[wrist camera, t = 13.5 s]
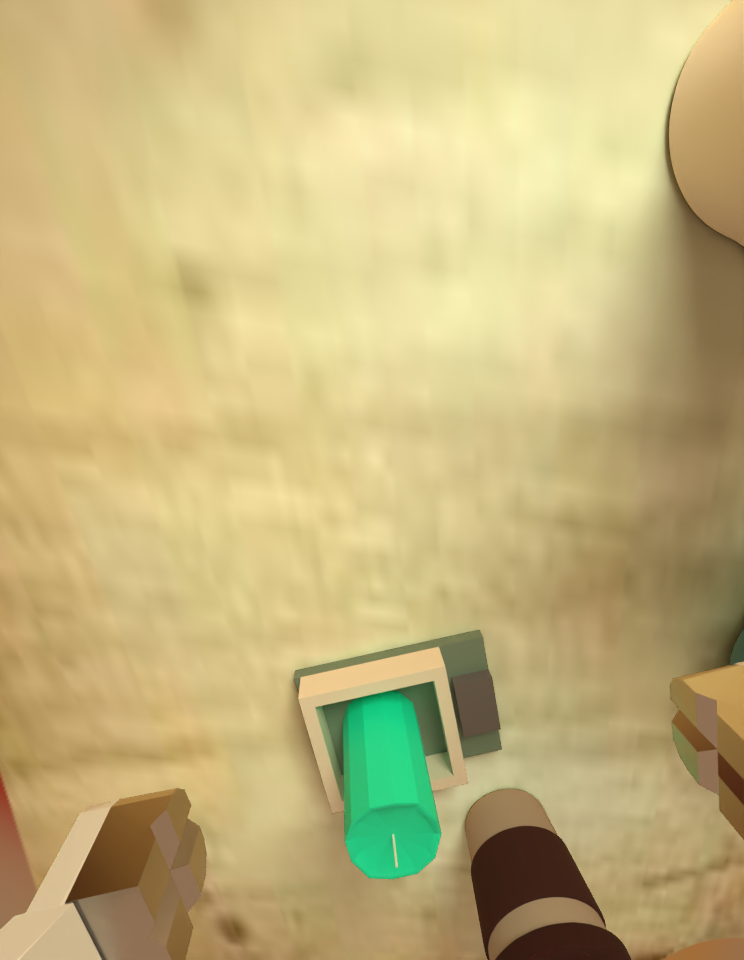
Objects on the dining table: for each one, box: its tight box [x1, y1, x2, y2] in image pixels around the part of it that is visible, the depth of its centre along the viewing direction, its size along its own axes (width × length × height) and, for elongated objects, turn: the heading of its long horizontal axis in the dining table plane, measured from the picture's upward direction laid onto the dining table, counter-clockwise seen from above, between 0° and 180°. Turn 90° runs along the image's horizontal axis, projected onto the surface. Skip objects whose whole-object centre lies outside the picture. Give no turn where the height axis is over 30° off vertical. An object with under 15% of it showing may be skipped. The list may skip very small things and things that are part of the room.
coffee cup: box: [465, 789, 631, 960], centre depth 39 cm, size 10×10×15 cm
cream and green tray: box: [294, 630, 502, 814], centre depth 41 cm, size 15×11×4 cm
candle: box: [343, 690, 441, 879], centre depth 36 cm, size 6×6×12 cm
